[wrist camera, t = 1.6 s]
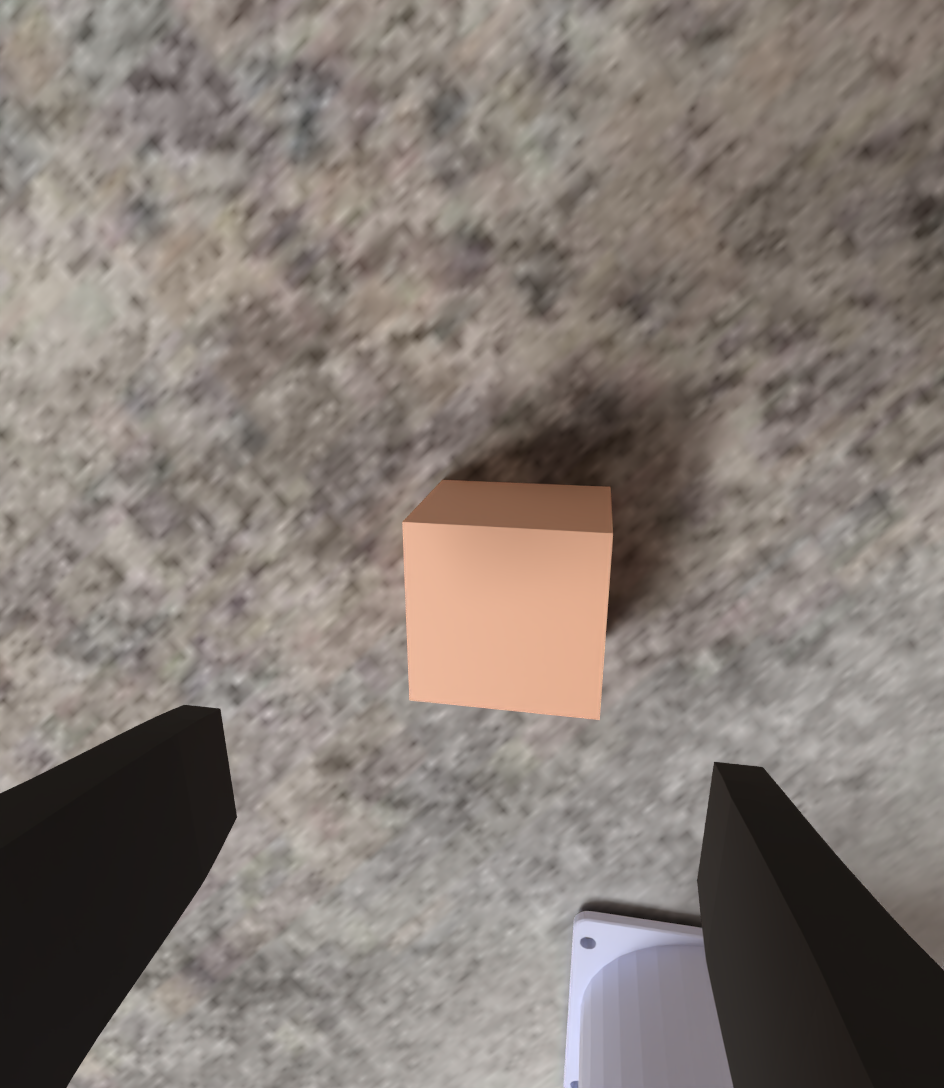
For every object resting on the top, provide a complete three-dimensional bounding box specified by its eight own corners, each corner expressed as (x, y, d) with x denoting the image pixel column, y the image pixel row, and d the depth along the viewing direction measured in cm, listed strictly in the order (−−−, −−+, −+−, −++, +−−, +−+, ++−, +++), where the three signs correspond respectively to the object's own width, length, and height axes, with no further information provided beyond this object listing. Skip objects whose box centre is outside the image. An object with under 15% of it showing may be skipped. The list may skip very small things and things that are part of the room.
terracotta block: (599, 639, 19) (599, 719, 15) (446, 626, 19) (409, 700, 16) (610, 485, 17) (613, 533, 13) (443, 478, 18) (402, 521, 14)
